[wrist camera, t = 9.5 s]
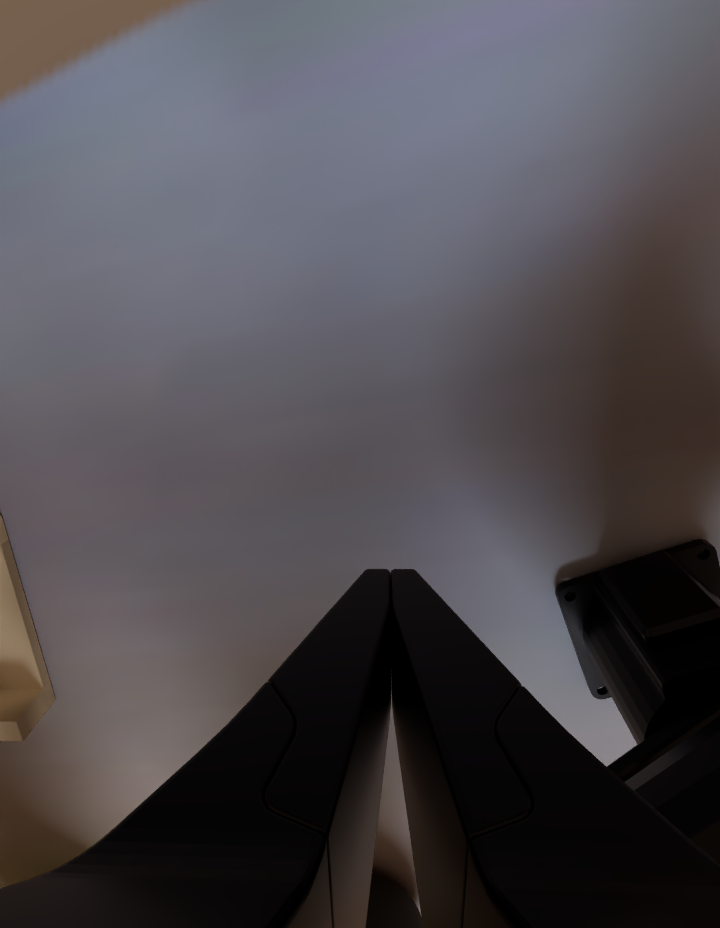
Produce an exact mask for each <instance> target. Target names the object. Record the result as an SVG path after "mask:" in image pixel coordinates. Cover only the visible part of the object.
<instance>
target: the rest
mask: <svg viewBox="0 0 720 928" xmlns="http://www.w3.org/2000/svg"><path fill="white" fill-rule="evenodd" d="M55 700H56V699H55V696H54V693H53V689H52V686H51V682H50V679H49V676H48V672H47V669H46V665H45V662H44V659H43V655H42V652H41V648H40V645H39V642H38V638H37V635H36V631H35V628H34V625H33V621H32V618H31V614H30V611H29V608H28V604H27V601H26V597H25V594H24V591H23V587H22V584H21V580H20V577H19V573H18V570H17V567H16V563H15V560H14V556H13V553H12V550H11V546H10V543H9V539H8V536H7V533H6V529H5V526H4V522H3V519H2V516H1V515H0V741H21V742H23V741H24V739H25V738H26V737H27V736H28V734H29V733H30V732H31V730H32V729H33V728H34V727H35V725H36V724H37V723H38V721H39V720H40V719H41V718H42V716H43V715H44V714H45V712H46V711H47V710H48V709H49V707H50V706H51V705H52V703H53V702H54V701H55Z"/></svg>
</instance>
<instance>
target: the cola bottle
mask: <svg viewBox="0 0 720 928" xmlns="http://www.w3.org/2000/svg"><path fill="white" fill-rule="evenodd" d="M365 928H423V924H422V917H421V914H420V912H419V910H418V908H417V906H416V904H415V902H414V900H413V899H412V898H411V896H410V895H409V894H408V893H407V892H406V891H405V890H404V889H403V888H402V887H401V886H400V885H398V884H397V883H396V882H394V881H392V880H390V879H389V878H387V877H384V876H382V875H379V874H376V873H372V876H371V884H370V893H369V902H368V910H367V919H366V927H365Z"/></svg>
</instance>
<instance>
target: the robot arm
mask: <svg viewBox="0 0 720 928" xmlns="http://www.w3.org/2000/svg"><path fill="white" fill-rule="evenodd" d="M702 549H704V551H703V552H702V553H701V554H700V555H697V553H698V552H699V551H700V550H702ZM570 591H572V592H573V593H572V594H571V595H569V596H564V595H565V594H566V593H567V592H570ZM555 592H556V597H557V600H558V602H559V605H560V608H561V611H562V614H563V617H564V619H565V622H566V625H567V628H568V631H569V634H570V636H571V639H572V642H573V645H574V648H575V651H576V653H577V656H578V659H579V662H580V665H581V668H582V670H583V673H584V676H585V679H586V682H587V685H588V687H589V689H590V691H591V693H592V695H593V697H595V698H597V699H606V698H610V697H612V698H613V700H614V702H615V704H616V706H617V708H618V710H619V711H620V713H621V715H622V717H623V719H624V721H625V723H626V724H627V726H628V728H629V730H630V732H631V734H632V735H633V737H634V739H635V741H636V743H637V745H636V746H635V747H633V748H632V749H631V750H629V751H628V752H626V753H625V754H624V755H622V756H621V757H619V758H618V759H617V760H615V761H614V762H613V763H611V764H610V765H608V766H607V767H606V766H605V765H604V764H603V763H602V762H600V761H599V760H598V759H597V758H596V757H595V756H594V755H593V754H592V753H591V752H589V751H588V750H587V749H586V748H585V747H584V746H583V745H582V744H581V743H580V742H579V741H577V740H576V739H575V738H574V737H573V736H572V735H571V734H570V733H569V732H568V731H567V730H566V729H565V728H564V727H563V726H562V725H561V724H560V723H559V722H558V721H557V720H556V719H555V718H554V717H553V716H552V715H551V714H550V713H549V712H548V711H547V710H546V709H545V708H544V707H543V706H542V705H541V704H540V703H539V702H538V701H537V700H536V699H535V698H534V697H533V696H532V694H531V693H530V692H529V691H528V690H527V689H526V688H525V687H523V686H521V683H520V682H519V681H518V680H517V679H516V678H515V677H514V676H513V674H512V673H511V672H510V671H509V670H508V669H507V668H506V667H505V666H504V665H503V664H502V663H501V662H500V660H499V659H498V658H497V657H496V656H495V655H494V654H493V653H492V652H491V651H490V650H489V649H488V648H487V647H486V645H485V644H484V643H483V642H482V641H481V640H480V639H479V638H478V637H477V636H476V635H475V634H474V633H473V632H472V630H471V629H470V628H469V627H468V626H467V625H466V624H465V623H464V622H463V621H462V620H461V619H460V618H459V616H458V615H457V614H456V613H455V612H454V611H453V610H452V609H451V608H450V607H449V606H448V605H447V604H446V603H445V601H444V600H443V599H442V598H441V597H440V596H439V595H438V594H437V593H436V592H435V591H434V590H433V589H432V587H431V586H430V585H429V584H428V583H427V582H426V581H425V580H424V579H423V578H422V577H421V576H420V575H419V574H418V572H417V571H415V570H414V569H393V570H392V571H391V573H390V572H389V570H387V569H367V570H365V571H364V572H363V573H362V574H361V575H360V577H359V578H358V579H357V580H356V581H355V582H354V583H353V585H352V586H351V587H350V588H349V589H348V590H347V591H346V592H345V594H344V595H343V596H342V597H341V598H340V599H339V600H338V602H337V603H336V604H335V605H334V606H333V607H332V608H331V609H330V611H329V612H328V613H327V614H326V615H325V616H324V617H323V619H322V620H321V621H320V622H319V623H318V624H317V625H316V626H315V628H314V629H313V630H312V631H311V632H310V633H309V634H308V636H307V637H306V638H305V639H304V640H303V641H302V642H301V643H300V645H299V646H298V647H297V648H296V649H295V650H294V651H293V653H292V654H291V655H290V656H289V657H288V658H287V659H286V660H285V662H284V663H283V664H282V665H281V666H280V667H279V668H278V670H277V671H276V672H275V673H274V674H273V675H272V676H271V677H270V679H269V680H268V682H267V683H265V684H264V685H263V686H262V687H261V688H260V690H259V691H258V692H257V693H256V694H255V695H254V696H253V697H252V699H251V700H250V701H249V702H248V703H247V704H246V705H245V706H244V707H243V708H242V709H241V710H240V711H239V712H238V714H237V715H236V716H235V717H234V718H233V719H232V720H231V721H230V722H229V723H228V724H227V725H226V726H225V727H224V728H223V729H222V730H221V731H220V732H219V733H218V734H217V735H216V736H214V737H213V738H212V739H211V740H210V741H209V742H208V743H207V744H206V745H205V746H204V747H203V748H202V749H201V750H200V751H199V752H198V753H197V754H195V755H194V756H193V757H192V758H191V759H190V760H189V761H188V762H187V763H186V764H184V765H183V766H182V767H181V768H180V769H179V770H178V771H177V772H176V773H175V774H173V775H172V776H171V777H170V778H169V779H168V780H167V781H166V782H165V783H163V784H162V785H161V786H160V787H159V788H158V789H157V790H156V791H155V792H154V793H152V794H151V795H150V796H149V797H148V798H147V799H146V800H145V801H144V802H142V803H141V804H140V805H139V806H138V807H137V808H136V809H135V810H134V811H133V812H131V813H130V814H129V815H128V816H127V817H126V818H125V819H124V820H123V821H121V822H120V823H119V824H118V825H117V826H116V827H115V828H114V829H112V830H111V831H110V832H109V833H108V834H107V835H105V836H104V837H103V838H102V839H101V840H99V841H98V842H97V843H96V844H94V845H93V846H91V847H90V848H89V849H87V850H86V851H85V852H83V853H82V854H80V855H79V856H77V857H75V858H74V859H72V860H71V861H69V862H67V863H66V864H64V865H62V866H60V867H58V868H56V869H54V870H52V871H50V872H47V873H45V874H42V875H40V876H37V877H35V878H32V879H29V880H26V881H23V882H20V883H17V884H14V885H10V886H7V887H4V888H1V889H0V928H365V927H366V919H367V910H368V902H369V893H370V884H371V876H372V867H373V858H374V850H375V841H376V833H377V824H378V815H379V807H380V798H381V790H382V781H383V772H384V764H385V755H386V746H387V738H388V729H389V721H390V709H391V690H392V708H393V717H394V725H395V732H396V739H397V746H398V753H399V760H400V767H401V774H402V781H403V789H404V796H405V803H406V810H407V817H408V824H409V831H410V838H411V845H412V852H413V860H414V867H415V874H416V881H417V888H418V895H419V902H420V909H421V916H422V924H423V928H720V566H719V561H718V557H717V552H716V549H715V548H714V546H712V545H711V544H710V543H709V542H707V541H706V540H703V539H698V540H693V541H690V542H687V543H684V544H681V545H678V546H675V547H671V548H668V549H665V550H662V551H658V552H654V553H651V554H648V555H645V556H642V557H639V558H636V559H633V560H629V561H626V562H623V563H620V564H617V565H614V566H611V567H608V568H605V569H603V570H600V571H596V572H593V573H590V574H587V575H584V576H581V577H578V578H574V579H571V580H568V581H565V582H563V583H561V584H559V585H558V586H557V588H556V591H555ZM600 687H602V688H600ZM598 688H599V689H598Z"/></svg>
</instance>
